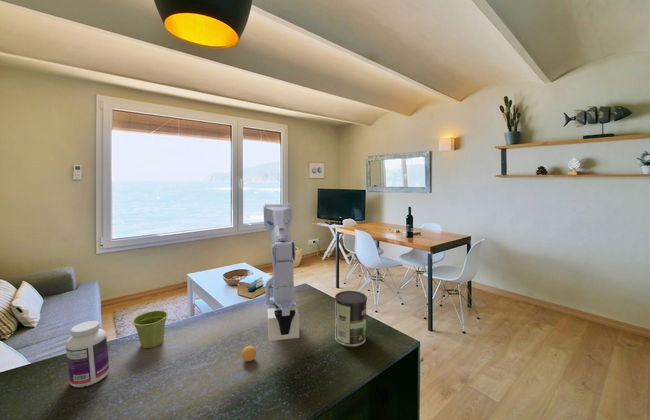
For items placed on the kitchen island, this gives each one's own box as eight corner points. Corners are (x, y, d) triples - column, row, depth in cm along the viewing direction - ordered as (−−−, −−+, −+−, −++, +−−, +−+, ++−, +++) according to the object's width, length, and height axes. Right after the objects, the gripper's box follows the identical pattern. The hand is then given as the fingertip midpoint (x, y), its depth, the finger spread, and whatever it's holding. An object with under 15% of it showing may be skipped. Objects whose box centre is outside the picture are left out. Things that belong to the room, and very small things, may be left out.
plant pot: (142, 356, 84) (140, 328, 83) (129, 345, 90) (127, 318, 89) (174, 342, 92) (173, 316, 91) (161, 332, 97) (159, 307, 96)
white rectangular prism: (296, 326, 88) (296, 306, 87) (299, 337, 82) (299, 315, 82) (267, 330, 86) (267, 308, 85) (268, 341, 80) (268, 318, 80)
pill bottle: (104, 364, 81) (100, 315, 79) (113, 376, 76) (109, 324, 74) (66, 379, 74) (61, 326, 73) (73, 394, 69) (67, 338, 68)
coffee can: (366, 331, 99) (367, 291, 97) (365, 348, 89) (366, 304, 87) (337, 328, 101) (337, 289, 99) (332, 344, 91) (332, 301, 89)
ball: (256, 354, 85) (256, 342, 85) (256, 363, 81) (256, 350, 81) (242, 356, 84) (242, 343, 84) (241, 365, 80) (241, 351, 80)
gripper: (268, 275, 89) (269, 317, 90) (270, 294, 75) (271, 343, 76) (291, 274, 90) (291, 315, 92) (297, 291, 76) (297, 340, 78)
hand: (283, 328), depth 84 cm, fingers closed on white rectangular prism, 6 cm apart
